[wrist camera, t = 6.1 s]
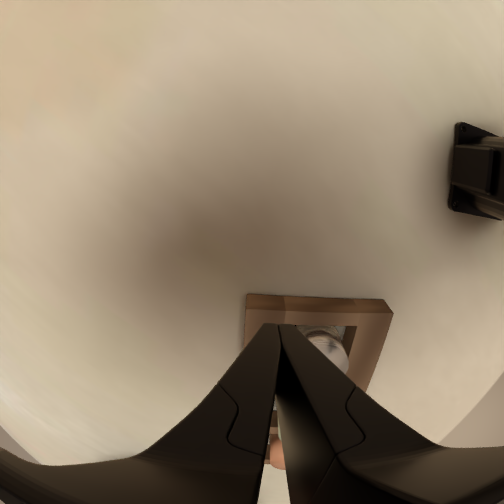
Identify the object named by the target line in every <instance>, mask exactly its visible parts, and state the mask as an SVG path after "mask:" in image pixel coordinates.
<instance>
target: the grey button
mask: <svg viewBox="0 0 504 504" xmlns="http://www.w3.org/2000/svg"><path fill="white" fill-rule="evenodd" d="M296 328H297V329H298V330H299V331H300V332H301V333H302V334H303V335H304V336H305V337H306V338H308V339H309V340H310V341H311V342H312V343H313V344H314V345H315V346H316V347H317V348H318V349H319V350H320V351H321V352H322V353H323V354H324V355H325V356H326V357H328V358H329V359H330V360H331V361H332V362H333V363H334V364H335V365H336V366H337V367H338V368H339V369H340V370H341V371H342V372H344V373H345V374H346V372H347V370H348V366H349V361H348V358H347V355H346V352H345V350H344V347H343V344H342V342H341V339H340V337H339V334H338V332H337V330H336V329H335V327H334V326H322V325H298V326H297V327H296Z"/></svg>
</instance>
